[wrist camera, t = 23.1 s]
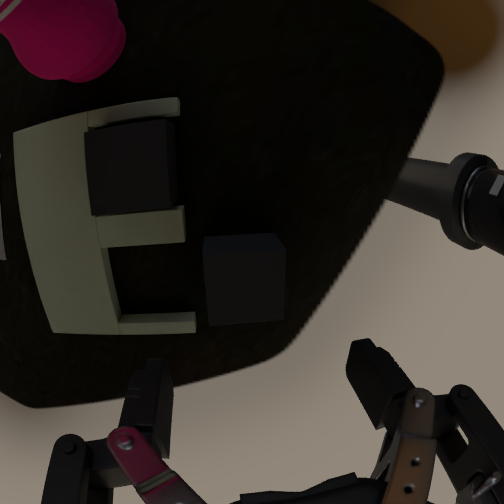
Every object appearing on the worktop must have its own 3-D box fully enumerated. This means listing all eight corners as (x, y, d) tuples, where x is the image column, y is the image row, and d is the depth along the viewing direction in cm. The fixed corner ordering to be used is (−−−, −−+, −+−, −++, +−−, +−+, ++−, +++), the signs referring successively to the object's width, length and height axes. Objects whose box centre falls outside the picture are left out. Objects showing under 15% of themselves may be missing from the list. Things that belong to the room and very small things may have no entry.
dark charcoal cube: (174, 124, 19) (165, 118, 15) (178, 197, 21) (171, 207, 17) (105, 134, 18) (83, 132, 14) (110, 204, 20) (91, 216, 16)
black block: (274, 232, 22) (286, 249, 19) (273, 294, 24) (284, 320, 21) (203, 236, 22) (202, 254, 18) (209, 299, 24) (209, 326, 20)
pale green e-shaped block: (180, 100, 18) (177, 96, 17) (196, 322, 24) (196, 332, 23) (22, 132, 17) (13, 132, 15) (59, 324, 23) (53, 332, 21)
